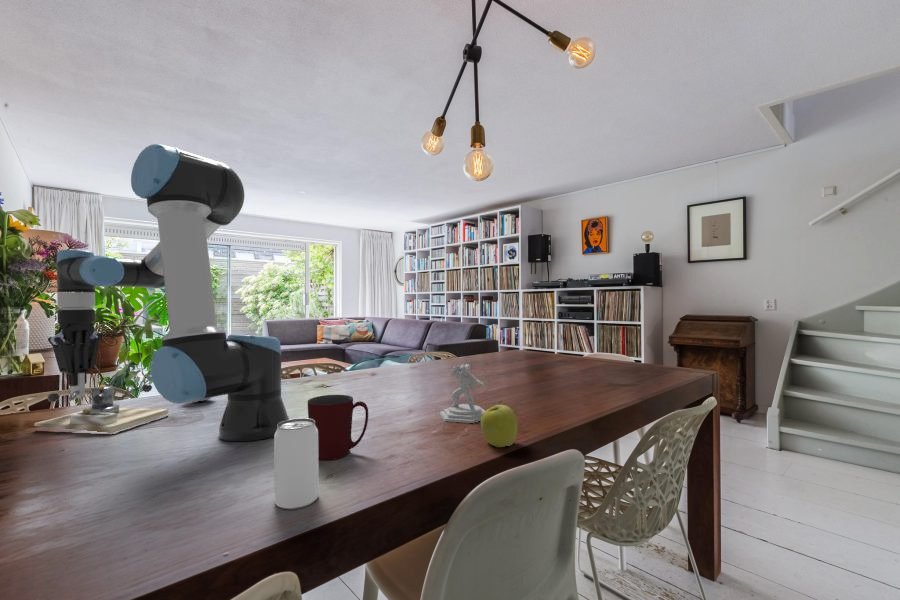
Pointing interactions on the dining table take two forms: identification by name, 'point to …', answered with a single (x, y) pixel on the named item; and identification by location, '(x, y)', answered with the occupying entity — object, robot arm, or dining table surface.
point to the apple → (499, 425)
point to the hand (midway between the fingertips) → (77, 397)
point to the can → (296, 463)
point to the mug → (334, 424)
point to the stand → (103, 419)
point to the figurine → (466, 411)
